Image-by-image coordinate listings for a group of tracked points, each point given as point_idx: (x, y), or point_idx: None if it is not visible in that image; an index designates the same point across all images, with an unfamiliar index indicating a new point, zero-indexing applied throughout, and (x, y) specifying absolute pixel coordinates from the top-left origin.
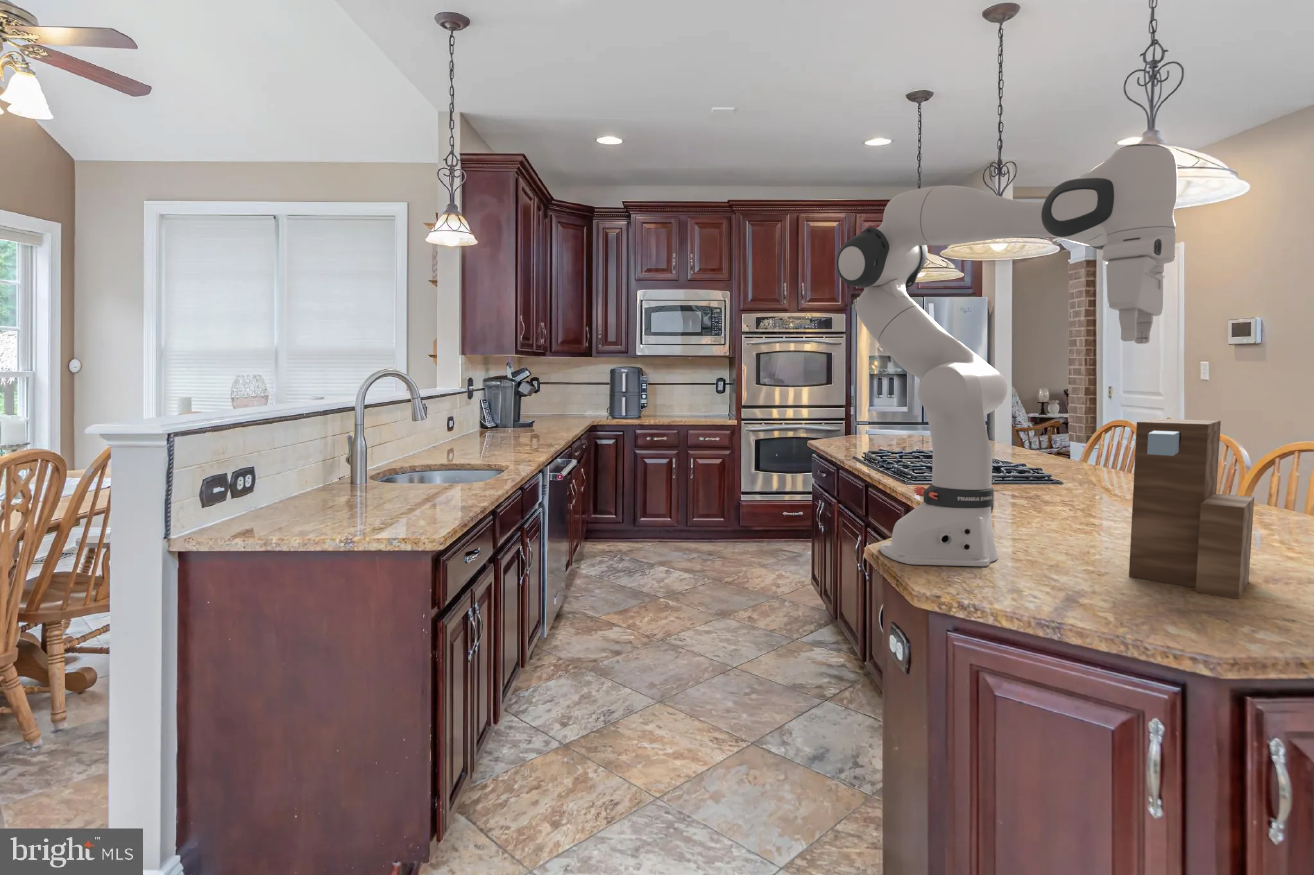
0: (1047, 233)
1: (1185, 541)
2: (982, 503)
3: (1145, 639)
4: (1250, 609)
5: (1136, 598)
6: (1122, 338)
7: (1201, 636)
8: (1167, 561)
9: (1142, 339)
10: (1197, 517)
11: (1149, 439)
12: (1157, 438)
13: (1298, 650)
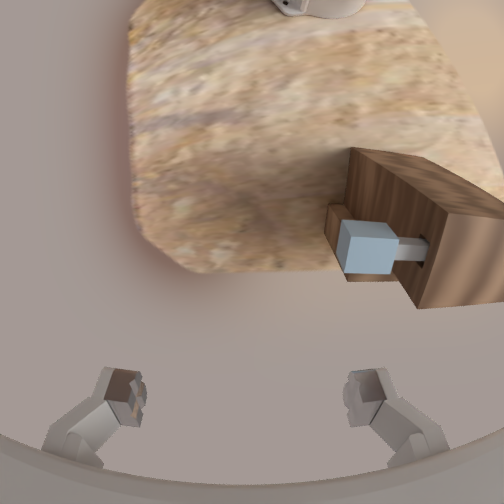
0: None
1: (360, 209)
2: None
3: (141, 193)
4: (294, 242)
5: (264, 164)
6: (103, 372)
7: (181, 221)
8: (354, 186)
9: (350, 394)
10: None
11: (347, 233)
12: (346, 246)
13: (199, 271)
